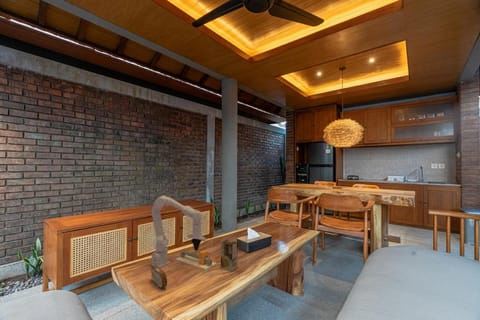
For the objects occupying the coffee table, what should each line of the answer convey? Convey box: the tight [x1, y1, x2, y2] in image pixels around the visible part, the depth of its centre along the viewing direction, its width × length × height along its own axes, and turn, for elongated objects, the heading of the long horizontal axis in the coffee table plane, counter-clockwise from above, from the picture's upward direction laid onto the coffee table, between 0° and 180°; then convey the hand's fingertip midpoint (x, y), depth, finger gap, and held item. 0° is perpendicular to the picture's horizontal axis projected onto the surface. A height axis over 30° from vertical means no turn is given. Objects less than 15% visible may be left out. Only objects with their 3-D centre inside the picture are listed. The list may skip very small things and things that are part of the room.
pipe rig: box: [175, 249, 217, 271], centre depth 148 cm, size 27×10×6 cm, turn 58°
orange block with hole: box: [198, 249, 209, 264], centre depth 144 cm, size 4×5×7 cm
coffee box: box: [220, 239, 239, 272], centre depth 141 cm, size 9×6×16 cm
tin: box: [150, 266, 168, 289], centre depth 119 cm, size 15×3×8 cm, turn 44°
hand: (196, 250), depth 148 cm, fingers closed
